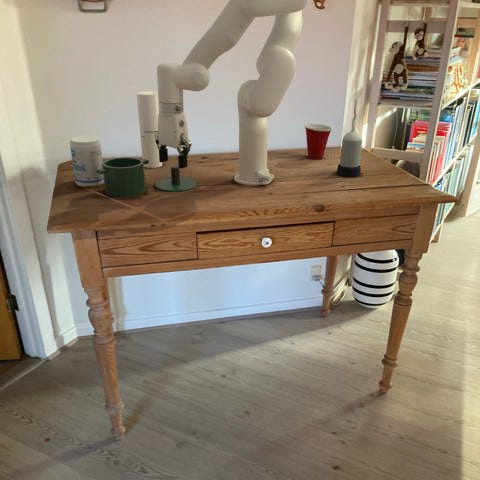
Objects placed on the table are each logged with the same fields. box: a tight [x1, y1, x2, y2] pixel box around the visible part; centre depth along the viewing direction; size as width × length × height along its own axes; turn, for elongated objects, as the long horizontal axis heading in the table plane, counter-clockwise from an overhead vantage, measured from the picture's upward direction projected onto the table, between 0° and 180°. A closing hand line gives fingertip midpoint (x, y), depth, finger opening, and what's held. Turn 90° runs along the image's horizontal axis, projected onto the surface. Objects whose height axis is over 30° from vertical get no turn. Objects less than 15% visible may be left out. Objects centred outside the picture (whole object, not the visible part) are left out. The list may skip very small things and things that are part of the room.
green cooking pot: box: [96, 156, 149, 199], centre depth 165 cm, size 13×18×10 cm
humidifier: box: [336, 98, 363, 178], centre depth 180 cm, size 8×8×25 cm
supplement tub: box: [69, 135, 104, 188], centre depth 171 cm, size 10×10×15 cm
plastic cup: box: [304, 123, 334, 160], centre depth 203 cm, size 11×11×12 cm
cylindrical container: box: [136, 91, 163, 169], centre depth 189 cm, size 7×7×25 cm
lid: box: [154, 165, 198, 193], centre depth 171 cm, size 14×14×7 cm
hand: (173, 164), depth 168 cm, fingers open, 9 cm apart
